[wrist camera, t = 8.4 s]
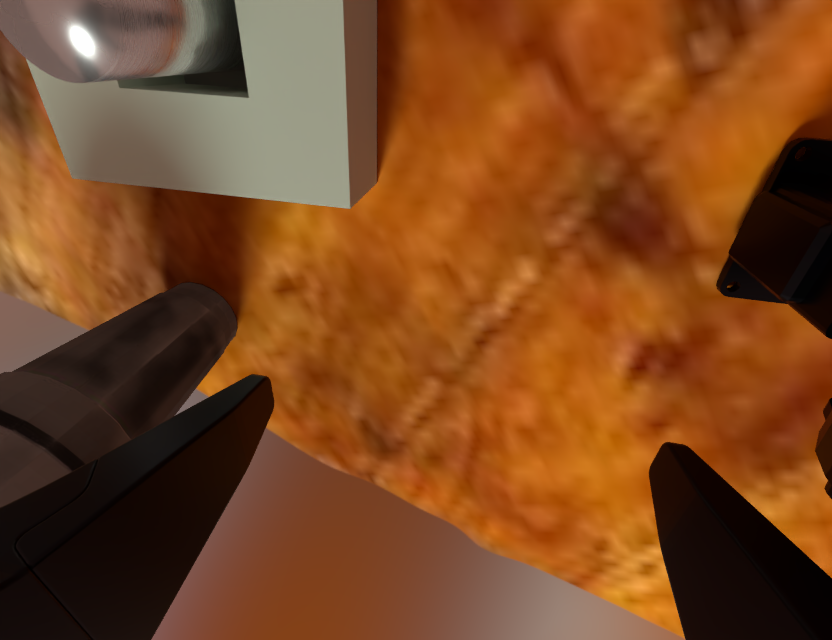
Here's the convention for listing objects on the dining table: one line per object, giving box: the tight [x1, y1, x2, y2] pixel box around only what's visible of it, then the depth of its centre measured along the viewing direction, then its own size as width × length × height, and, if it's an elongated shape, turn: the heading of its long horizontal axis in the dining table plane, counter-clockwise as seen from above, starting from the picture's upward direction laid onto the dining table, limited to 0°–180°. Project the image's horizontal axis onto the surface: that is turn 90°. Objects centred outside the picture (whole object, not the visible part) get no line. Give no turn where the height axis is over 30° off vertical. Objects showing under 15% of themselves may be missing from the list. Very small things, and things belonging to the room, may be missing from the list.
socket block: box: [26, 0, 377, 209], centre depth 15 cm, size 12×12×4 cm
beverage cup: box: [0, 283, 237, 507], centre depth 17 cm, size 7×7×20 cm
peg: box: [0, 0, 245, 83], centre depth 13 cm, size 4×4×8 cm
